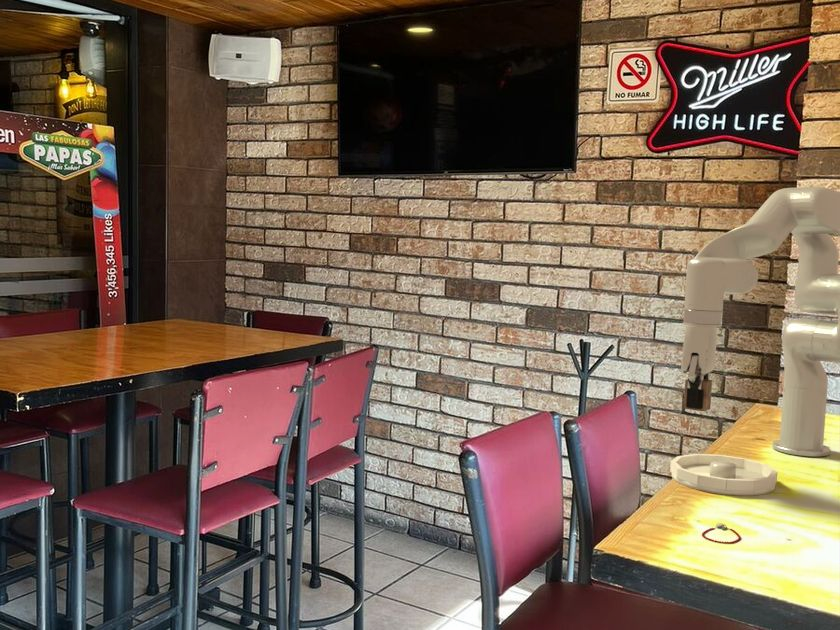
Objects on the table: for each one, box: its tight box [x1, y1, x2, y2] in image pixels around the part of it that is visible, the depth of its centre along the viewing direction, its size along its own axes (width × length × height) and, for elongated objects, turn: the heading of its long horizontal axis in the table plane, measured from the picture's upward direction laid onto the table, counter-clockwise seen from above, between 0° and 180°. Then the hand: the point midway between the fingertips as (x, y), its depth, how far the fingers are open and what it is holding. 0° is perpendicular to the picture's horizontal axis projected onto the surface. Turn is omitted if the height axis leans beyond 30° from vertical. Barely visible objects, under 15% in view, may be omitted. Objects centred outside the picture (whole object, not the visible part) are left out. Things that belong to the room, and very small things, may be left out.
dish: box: [669, 453, 779, 497], centre depth 172 cm, size 20×20×4 cm
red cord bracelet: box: [701, 522, 742, 545], centre depth 140 cm, size 9×6×1 cm
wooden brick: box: [683, 378, 713, 413], centre depth 174 cm, size 4×4×6 cm
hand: (697, 405), depth 174 cm, fingers closed on wooden brick, 4 cm apart
